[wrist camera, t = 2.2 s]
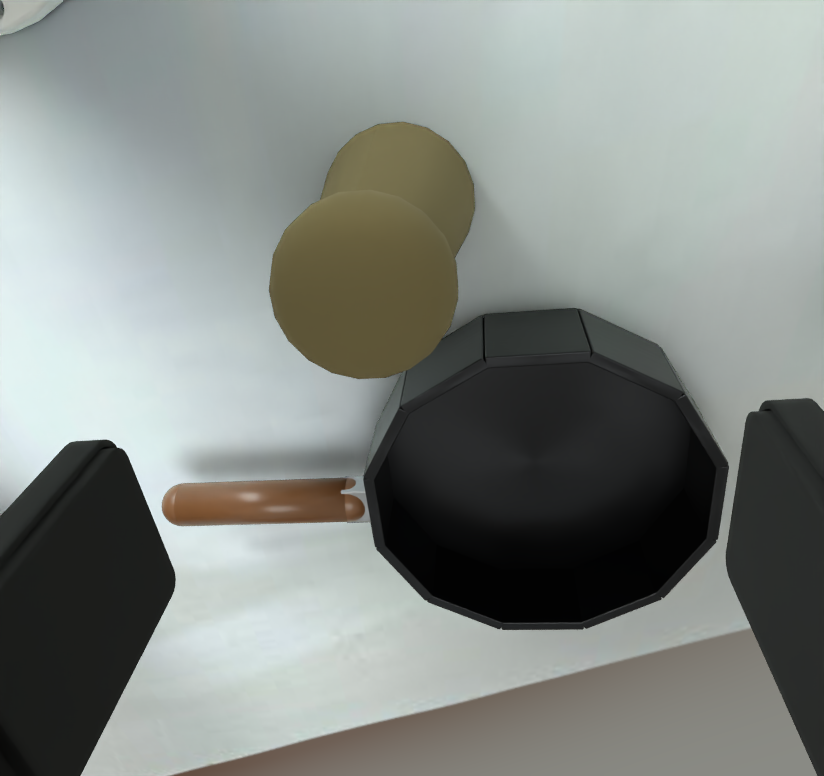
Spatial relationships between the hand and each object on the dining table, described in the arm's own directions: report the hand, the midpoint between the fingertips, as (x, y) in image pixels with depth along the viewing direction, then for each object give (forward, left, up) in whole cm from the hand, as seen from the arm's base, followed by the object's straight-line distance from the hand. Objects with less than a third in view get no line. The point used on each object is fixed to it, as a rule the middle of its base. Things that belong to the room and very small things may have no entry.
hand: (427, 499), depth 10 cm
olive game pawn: (-2, -1, -19) cm, 19 cm away
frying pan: (+2, -12, -18) cm, 22 cm away
